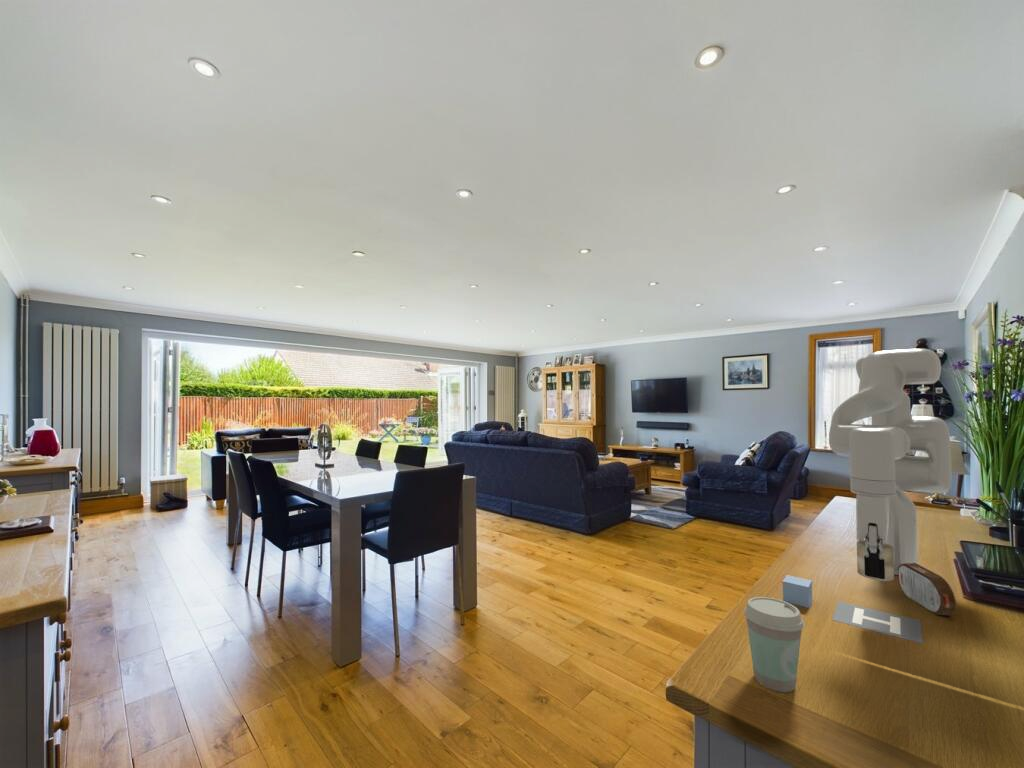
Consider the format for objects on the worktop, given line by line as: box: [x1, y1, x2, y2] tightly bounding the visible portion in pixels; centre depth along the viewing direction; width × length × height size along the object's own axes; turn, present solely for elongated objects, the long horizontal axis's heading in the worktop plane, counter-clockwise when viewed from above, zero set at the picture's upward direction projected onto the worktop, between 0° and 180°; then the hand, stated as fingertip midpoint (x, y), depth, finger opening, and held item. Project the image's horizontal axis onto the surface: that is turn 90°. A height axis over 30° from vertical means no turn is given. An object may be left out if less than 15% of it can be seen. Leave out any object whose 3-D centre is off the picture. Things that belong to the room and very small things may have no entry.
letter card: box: [832, 600, 924, 644], centre depth 93 cm, size 12×14×1 cm
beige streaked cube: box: [856, 539, 895, 582], centre depth 94 cm, size 6×6×6 cm
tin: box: [897, 563, 957, 617], centre depth 101 cm, size 15×3×8 cm, turn 168°
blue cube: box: [782, 574, 813, 609], centre depth 103 cm, size 5×5×5 cm
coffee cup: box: [743, 596, 805, 693], centre depth 73 cm, size 8×9×12 cm
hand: (875, 571), depth 94 cm, fingers closed on beige streaked cube, 6 cm apart
